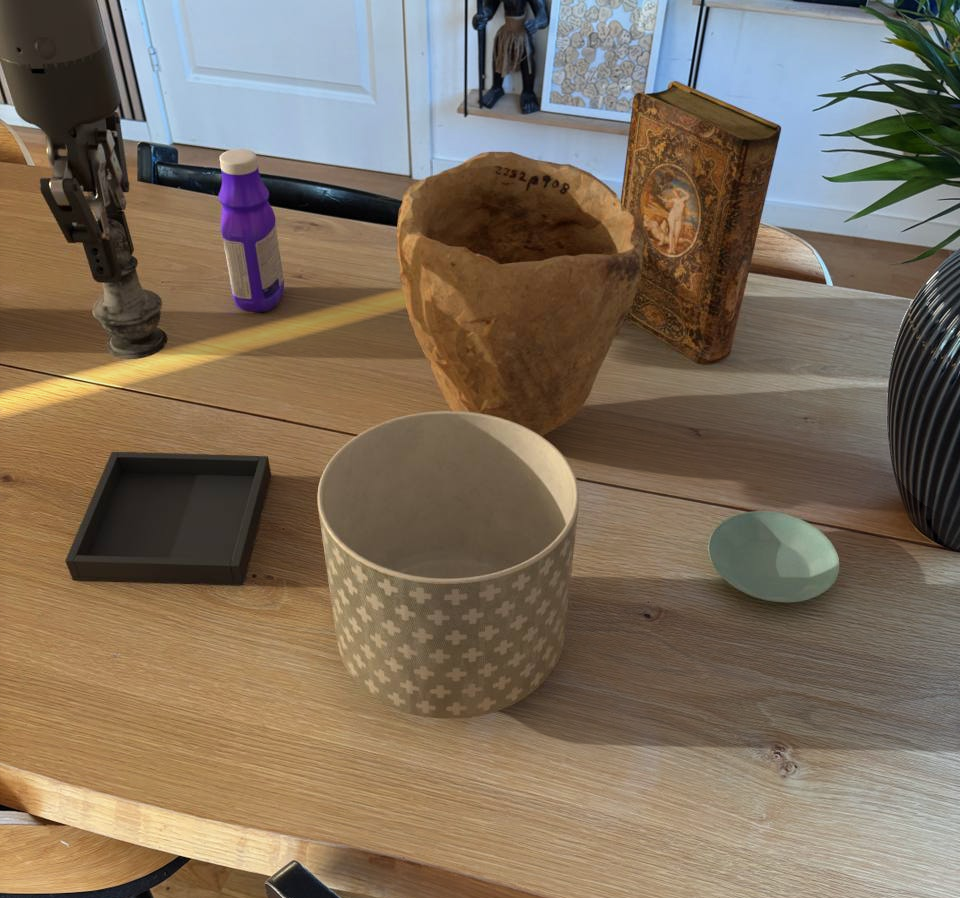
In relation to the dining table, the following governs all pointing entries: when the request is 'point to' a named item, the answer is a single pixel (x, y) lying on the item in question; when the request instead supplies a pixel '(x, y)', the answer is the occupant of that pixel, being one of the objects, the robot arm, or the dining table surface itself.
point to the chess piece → (129, 307)
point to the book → (695, 213)
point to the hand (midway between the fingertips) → (114, 266)
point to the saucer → (773, 556)
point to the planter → (449, 560)
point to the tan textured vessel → (517, 283)
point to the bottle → (249, 233)
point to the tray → (172, 519)
